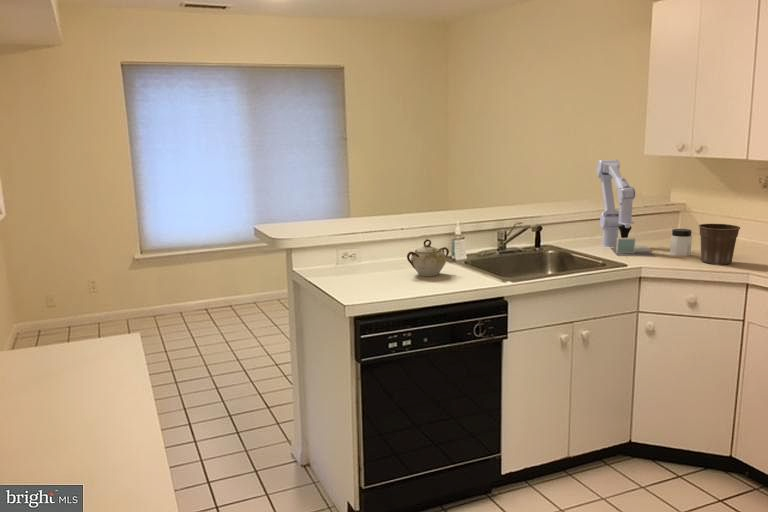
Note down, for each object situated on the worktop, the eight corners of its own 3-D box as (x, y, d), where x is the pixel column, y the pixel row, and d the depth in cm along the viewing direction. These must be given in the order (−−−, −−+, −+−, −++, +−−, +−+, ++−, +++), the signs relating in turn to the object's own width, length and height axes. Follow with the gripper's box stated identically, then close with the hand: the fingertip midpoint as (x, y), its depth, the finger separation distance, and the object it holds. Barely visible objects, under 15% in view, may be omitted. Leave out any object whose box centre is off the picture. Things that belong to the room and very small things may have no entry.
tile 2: (629, 248, 315) (630, 245, 315) (647, 248, 313) (647, 245, 313) (632, 251, 308) (632, 247, 308) (650, 251, 307) (650, 248, 306)
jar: (685, 257, 293) (687, 231, 291) (667, 255, 299) (669, 230, 296) (693, 254, 299) (694, 229, 297) (675, 252, 305) (677, 228, 302)
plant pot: (742, 266, 272) (745, 229, 269) (700, 265, 275) (703, 228, 272) (731, 259, 287) (734, 223, 284) (692, 258, 291) (694, 223, 288)
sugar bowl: (415, 280, 258) (415, 243, 255) (399, 273, 271) (398, 238, 268) (457, 275, 266) (457, 239, 263) (439, 268, 279) (439, 234, 276)
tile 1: (616, 252, 306) (617, 237, 305) (633, 252, 305) (634, 237, 304) (616, 252, 305) (617, 238, 304) (634, 253, 303) (635, 238, 302)
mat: (610, 248, 319) (610, 247, 318) (646, 249, 315) (646, 248, 315) (617, 257, 297) (617, 255, 297) (656, 257, 294) (656, 256, 294)
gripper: (637, 214, 299) (635, 243, 301) (631, 211, 313) (630, 238, 315) (621, 214, 300) (620, 243, 302) (616, 210, 314) (615, 238, 316)
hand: (624, 240), depth 309 cm, fingers closed
